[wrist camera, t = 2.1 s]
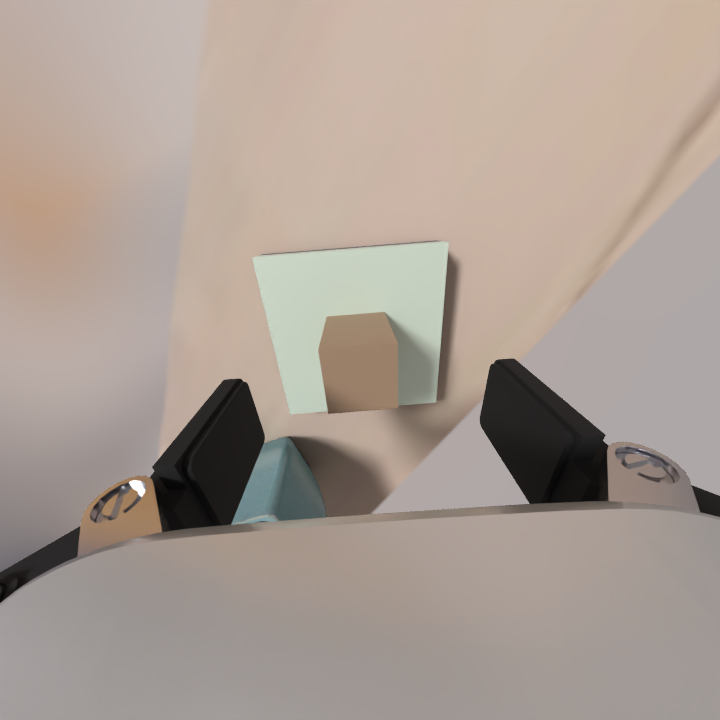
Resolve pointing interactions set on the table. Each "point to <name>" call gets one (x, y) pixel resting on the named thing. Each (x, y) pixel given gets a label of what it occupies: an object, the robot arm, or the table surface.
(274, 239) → the table surface
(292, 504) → the flower pot
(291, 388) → the lid
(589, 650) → the robot arm
